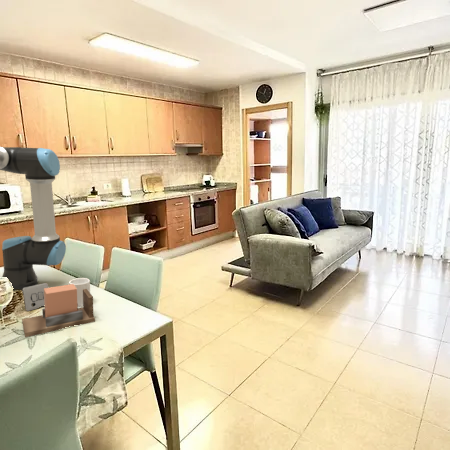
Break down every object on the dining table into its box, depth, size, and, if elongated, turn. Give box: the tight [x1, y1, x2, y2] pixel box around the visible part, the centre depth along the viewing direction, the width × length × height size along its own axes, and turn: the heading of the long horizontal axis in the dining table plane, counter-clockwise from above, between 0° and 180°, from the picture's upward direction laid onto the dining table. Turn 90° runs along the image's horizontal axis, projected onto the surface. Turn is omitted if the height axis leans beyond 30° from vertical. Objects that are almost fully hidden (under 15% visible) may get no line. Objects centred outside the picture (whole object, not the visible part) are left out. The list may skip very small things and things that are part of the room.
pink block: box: [44, 284, 78, 317], centre depth 119 cm, size 10×6×11 cm, turn 126°
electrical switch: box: [21, 282, 49, 312], centre depth 132 cm, size 9×5×9 cm, turn 141°
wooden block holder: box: [21, 289, 96, 338], centre depth 119 cm, size 22×12×10 cm, turn 126°
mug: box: [68, 277, 91, 308], centre depth 139 cm, size 8×12×10 cm
